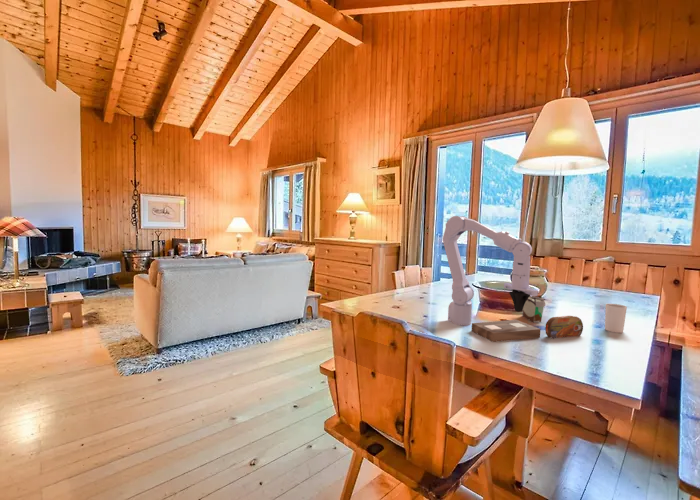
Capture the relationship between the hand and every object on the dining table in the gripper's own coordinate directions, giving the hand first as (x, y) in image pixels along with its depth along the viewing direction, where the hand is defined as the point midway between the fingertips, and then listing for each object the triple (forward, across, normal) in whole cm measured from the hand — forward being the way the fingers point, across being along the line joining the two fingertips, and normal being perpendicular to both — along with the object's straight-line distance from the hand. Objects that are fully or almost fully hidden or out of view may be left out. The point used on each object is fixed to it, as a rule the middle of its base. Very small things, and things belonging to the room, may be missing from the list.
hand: (518, 311), depth 129 cm
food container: (+10, +13, -21) cm, 26 cm away
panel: (+9, 0, +6) cm, 11 cm away
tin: (+10, -7, -14) cm, 18 cm away
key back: (+8, 0, 0) cm, 8 cm away
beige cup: (+9, -4, -43) cm, 44 cm away
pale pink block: (+8, 0, +11) cm, 14 cm away
